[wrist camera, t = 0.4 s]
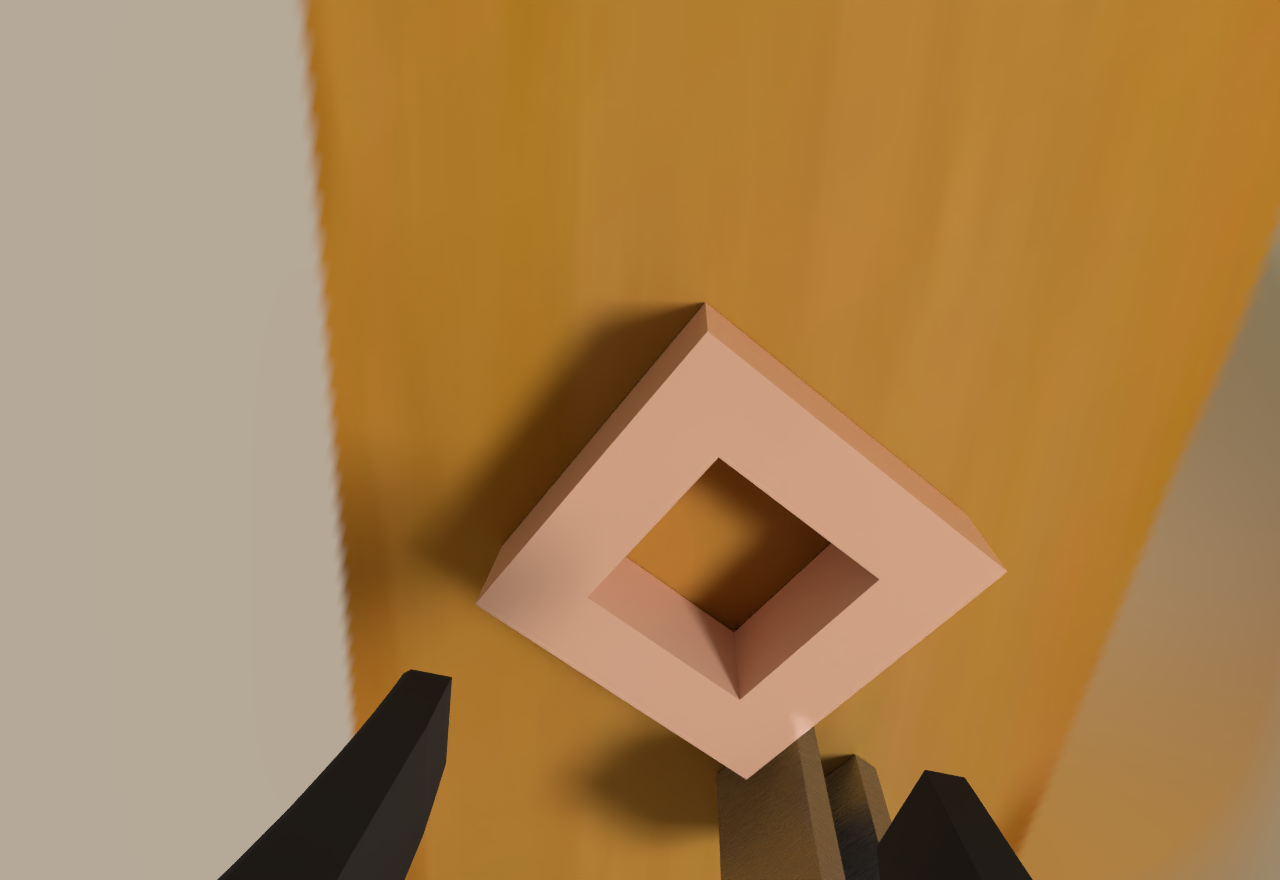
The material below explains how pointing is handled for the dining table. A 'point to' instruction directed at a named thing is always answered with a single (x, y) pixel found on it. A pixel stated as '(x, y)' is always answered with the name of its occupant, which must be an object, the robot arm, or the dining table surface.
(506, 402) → the dining table surface
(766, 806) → the bracket
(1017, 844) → the dining table surface
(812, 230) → the dining table surface
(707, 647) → the well
